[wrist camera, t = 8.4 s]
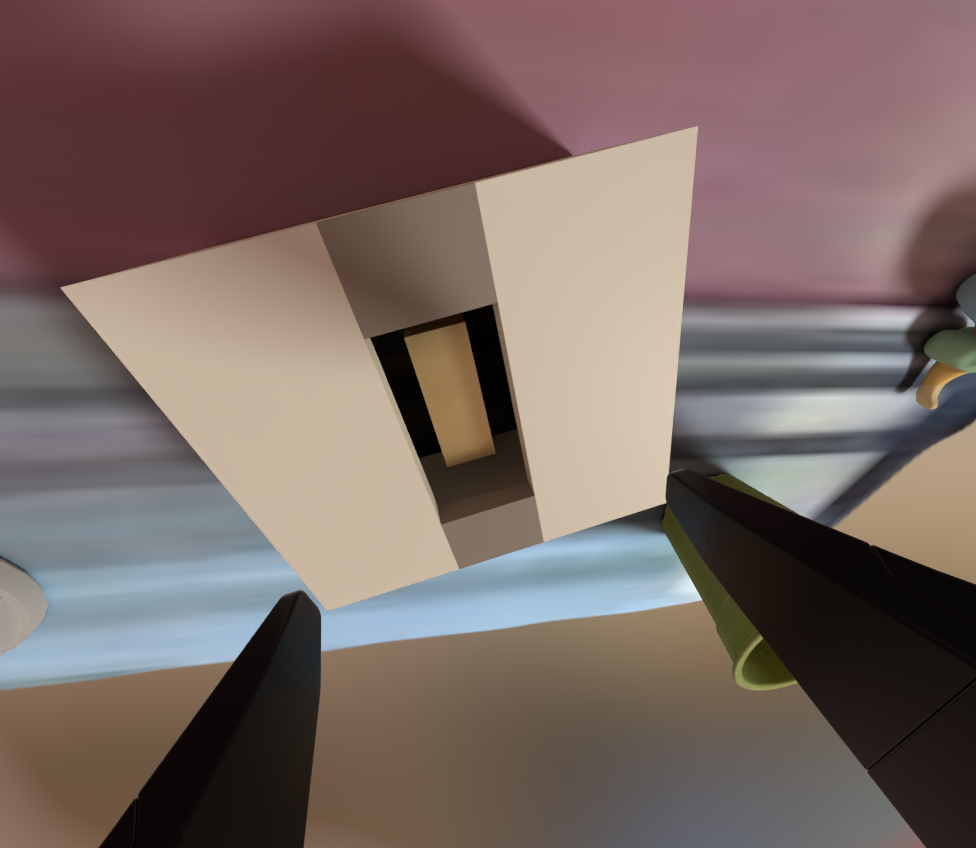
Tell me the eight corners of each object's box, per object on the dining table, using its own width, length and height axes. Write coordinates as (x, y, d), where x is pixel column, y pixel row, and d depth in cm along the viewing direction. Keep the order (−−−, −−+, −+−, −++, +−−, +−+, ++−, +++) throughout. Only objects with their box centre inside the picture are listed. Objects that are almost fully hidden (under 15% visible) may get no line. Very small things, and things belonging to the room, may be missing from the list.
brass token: (446, 287, 18) (465, 321, 13) (472, 393, 21) (495, 453, 16) (402, 298, 18) (404, 337, 13) (435, 403, 21) (447, 467, 16)
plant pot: (792, 456, 30) (970, 573, 21) (710, 556, 36) (822, 684, 26) (683, 435, 26) (840, 566, 17) (609, 549, 32) (698, 698, 22)
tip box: (574, 155, 16) (698, 126, 10) (590, 417, 24) (665, 502, 17) (207, 248, 15) (60, 287, 9) (347, 490, 23) (327, 610, 16)
